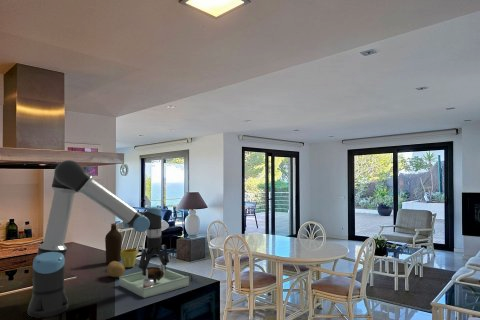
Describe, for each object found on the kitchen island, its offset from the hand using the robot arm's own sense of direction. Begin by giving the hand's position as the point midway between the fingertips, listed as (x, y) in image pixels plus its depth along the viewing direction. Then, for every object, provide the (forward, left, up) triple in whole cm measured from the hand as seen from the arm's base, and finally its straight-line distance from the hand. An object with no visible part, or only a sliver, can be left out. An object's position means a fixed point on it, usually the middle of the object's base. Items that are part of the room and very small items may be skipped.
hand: (154, 279), depth 177 cm
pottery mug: (0, 0, -2) cm, 3 cm away
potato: (-8, +29, -4) cm, 30 cm away
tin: (-9, -9, -3) cm, 13 cm away
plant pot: (+8, +44, -4) cm, 45 cm away
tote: (0, 0, -3) cm, 3 cm away
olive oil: (+6, +62, -4) cm, 62 cm away
